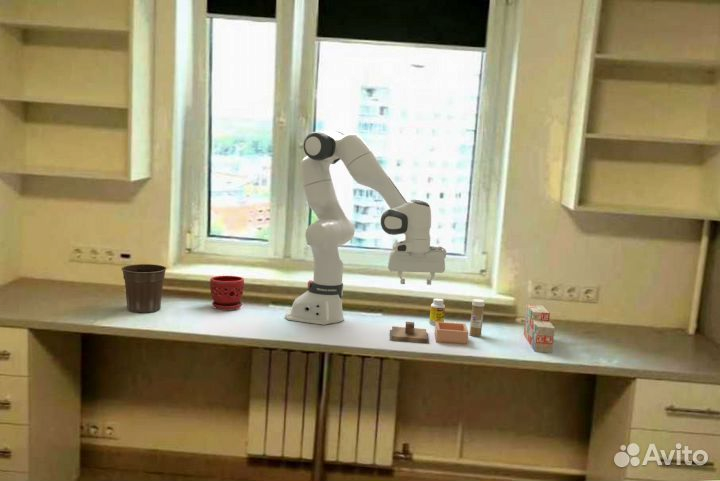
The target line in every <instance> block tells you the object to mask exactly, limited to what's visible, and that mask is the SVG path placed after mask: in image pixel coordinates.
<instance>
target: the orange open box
mask: <svg viewBox="0 0 720 481" xmlns="http://www.w3.org/2000/svg"><path fill="white" fill-rule="evenodd" d="M434 338H435V342H436V343H439V344H451V345H452V344H453V345H454V344H455V345H462V346H464V345H465V346H467V345H468V341H469V340H468V338H469V330H468V327H467V325H466V323H459V322H448V321H444V322H436V321H435V326H434Z"/></svg>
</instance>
